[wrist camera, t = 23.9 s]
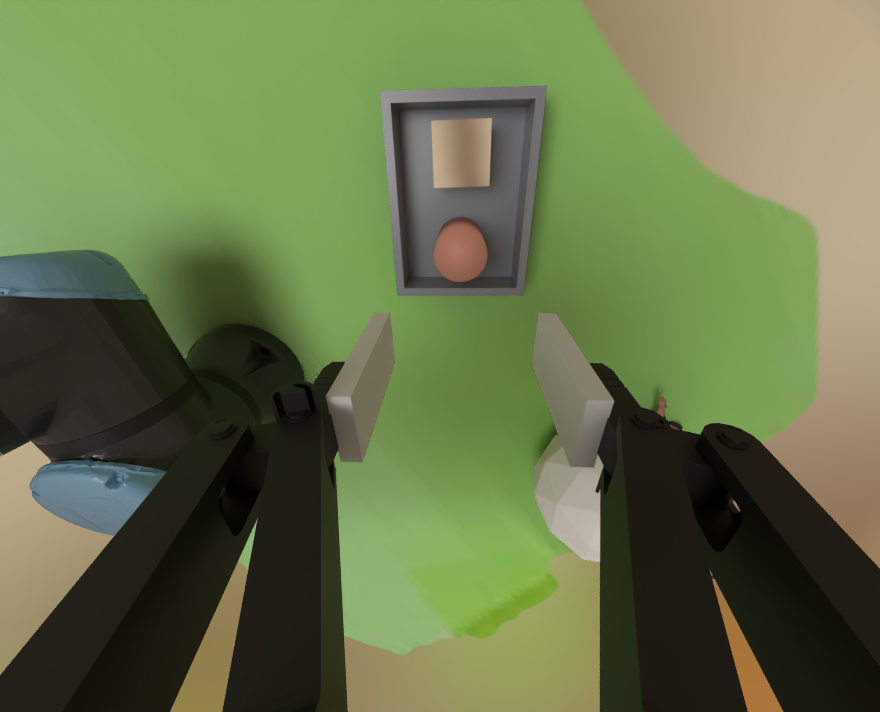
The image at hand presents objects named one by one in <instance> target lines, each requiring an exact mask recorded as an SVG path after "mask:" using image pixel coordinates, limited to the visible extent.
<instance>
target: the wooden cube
mask: <svg viewBox="0 0 880 712" xmlns="http://www.w3.org/2000/svg"><path fill="white" fill-rule="evenodd" d="M431 127H432V153H433V179H434V188H452V187H480V186H489V183H490V155H491V127H492V118H479V119H458V120H437V121H431Z"/></svg>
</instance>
